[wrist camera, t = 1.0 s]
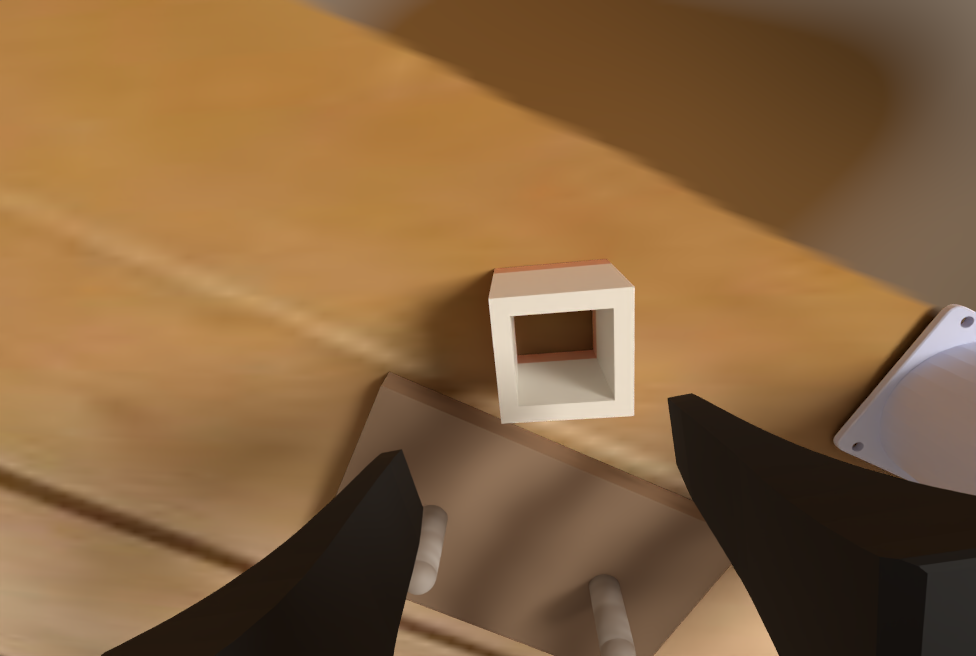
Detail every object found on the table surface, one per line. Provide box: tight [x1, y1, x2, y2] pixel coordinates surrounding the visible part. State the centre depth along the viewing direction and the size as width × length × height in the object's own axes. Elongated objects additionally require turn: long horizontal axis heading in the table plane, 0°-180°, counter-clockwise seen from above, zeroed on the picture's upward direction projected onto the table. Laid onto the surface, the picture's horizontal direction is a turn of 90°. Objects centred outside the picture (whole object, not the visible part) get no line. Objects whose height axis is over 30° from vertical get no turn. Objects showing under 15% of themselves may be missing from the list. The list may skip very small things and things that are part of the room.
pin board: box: [335, 372, 731, 656], centre depth 23 cm, size 20×12×6 cm, turn 66°
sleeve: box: [488, 259, 635, 424], centre depth 19 cm, size 5×5×5 cm
